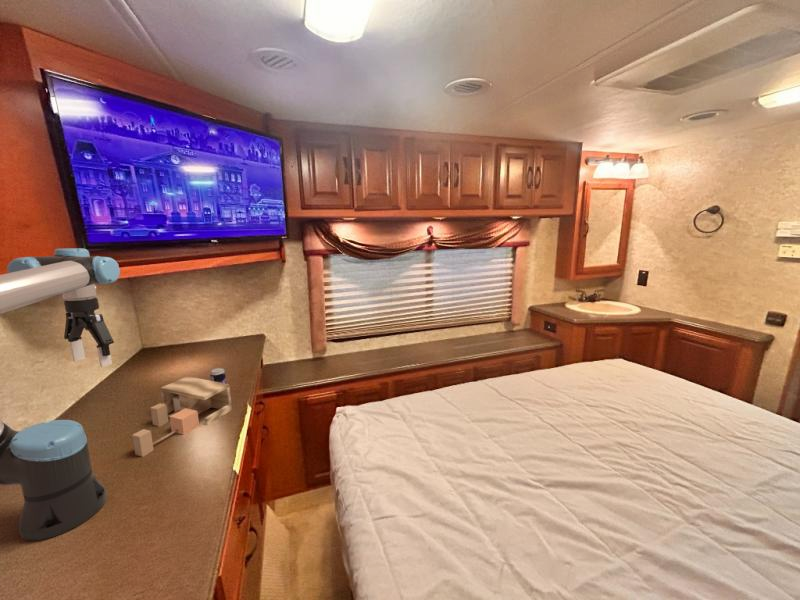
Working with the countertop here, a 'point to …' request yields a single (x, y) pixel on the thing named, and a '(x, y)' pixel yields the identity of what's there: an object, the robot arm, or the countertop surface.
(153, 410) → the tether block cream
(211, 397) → the shelf
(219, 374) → the beverage can
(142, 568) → the countertop surface
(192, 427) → the tether block terracotta
